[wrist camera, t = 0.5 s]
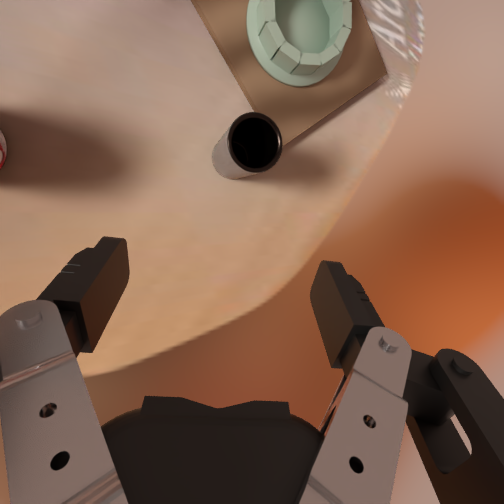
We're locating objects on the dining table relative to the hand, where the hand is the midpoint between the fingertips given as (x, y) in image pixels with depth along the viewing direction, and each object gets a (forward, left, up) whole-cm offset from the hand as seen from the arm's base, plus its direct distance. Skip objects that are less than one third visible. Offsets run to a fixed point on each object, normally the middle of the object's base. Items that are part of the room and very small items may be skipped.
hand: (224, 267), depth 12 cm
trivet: (-10, +20, -21) cm, 31 cm away
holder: (-10, +20, -20) cm, 30 cm away
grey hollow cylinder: (-3, +7, -21) cm, 23 cm away
